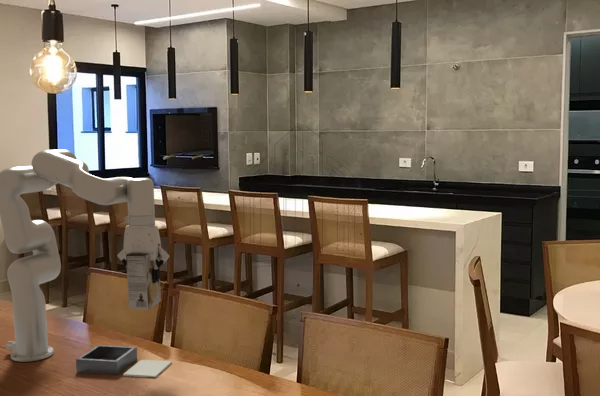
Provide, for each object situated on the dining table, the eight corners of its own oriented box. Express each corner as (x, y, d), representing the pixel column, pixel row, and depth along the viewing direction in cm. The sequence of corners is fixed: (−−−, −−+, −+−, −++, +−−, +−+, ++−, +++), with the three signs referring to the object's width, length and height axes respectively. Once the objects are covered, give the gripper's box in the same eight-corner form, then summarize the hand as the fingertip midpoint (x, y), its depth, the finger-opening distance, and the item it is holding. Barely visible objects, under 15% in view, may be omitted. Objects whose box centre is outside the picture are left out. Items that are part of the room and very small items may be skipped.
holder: (76, 372, 193) (75, 359, 193) (98, 357, 206) (97, 345, 206) (117, 375, 191) (116, 361, 190) (137, 359, 204) (136, 347, 203)
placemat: (123, 376, 190) (123, 374, 190) (141, 361, 202) (141, 359, 202) (155, 378, 188) (155, 375, 188) (171, 363, 200) (171, 361, 200)
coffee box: (141, 300, 198) (139, 248, 196) (161, 301, 197) (159, 248, 195) (127, 309, 189) (125, 253, 187) (148, 309, 188) (146, 254, 186)
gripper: (107, 222, 188) (110, 283, 190) (164, 223, 185) (167, 285, 187) (120, 218, 196) (122, 278, 197) (174, 219, 192) (177, 279, 194)
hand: (144, 281), depth 192 cm, fingers closed on coffee box, 6 cm apart
